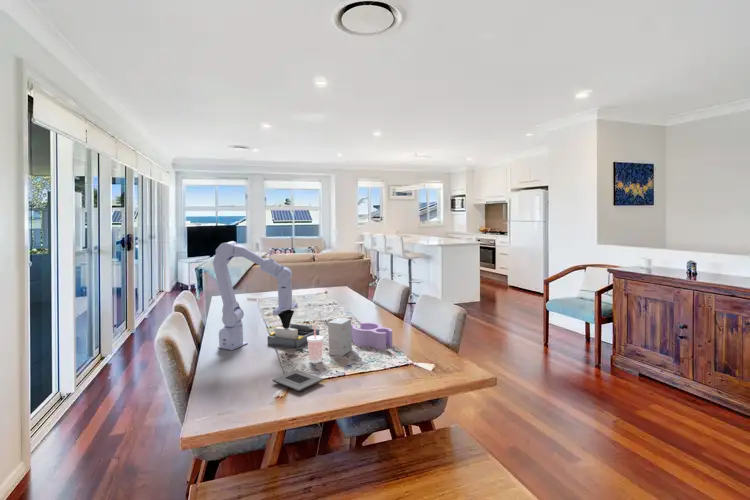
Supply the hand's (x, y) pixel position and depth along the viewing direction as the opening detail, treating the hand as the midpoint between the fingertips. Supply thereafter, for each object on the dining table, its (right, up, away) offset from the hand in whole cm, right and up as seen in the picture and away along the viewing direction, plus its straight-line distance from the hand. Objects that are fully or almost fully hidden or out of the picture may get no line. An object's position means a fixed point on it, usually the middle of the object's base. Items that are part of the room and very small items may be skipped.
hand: (286, 327), depth 174 cm
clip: (+36, -7, +1) cm, 37 cm away
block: (0, -7, +1) cm, 7 cm away
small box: (+24, -8, -10) cm, 27 cm away
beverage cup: (+15, -9, -19) cm, 26 cm away
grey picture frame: (+12, -12, -39) cm, 43 cm away
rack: (+2, -7, +6) cm, 9 cm away
